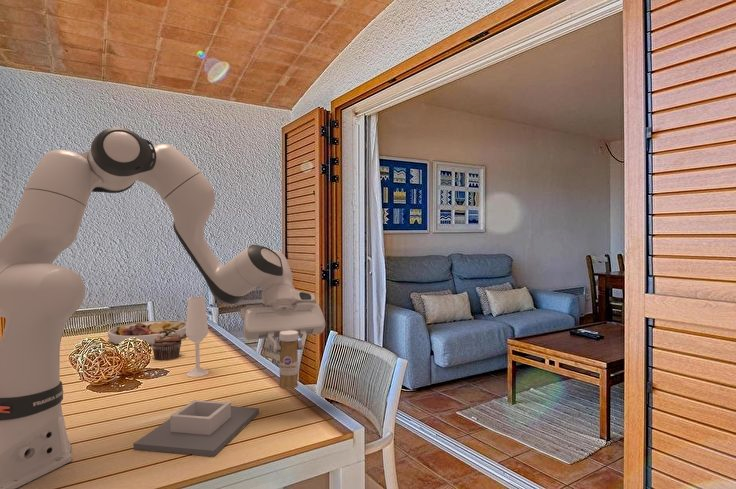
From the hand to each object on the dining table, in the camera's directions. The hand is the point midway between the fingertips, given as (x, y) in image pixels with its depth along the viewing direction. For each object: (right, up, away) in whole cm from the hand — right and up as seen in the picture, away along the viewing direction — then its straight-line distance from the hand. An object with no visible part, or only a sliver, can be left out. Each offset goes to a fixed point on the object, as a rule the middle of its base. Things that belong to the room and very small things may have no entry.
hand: (289, 349), depth 110 cm
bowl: (-72, -14, +81) cm, 109 cm away
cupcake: (-53, -15, +53) cm, 76 cm away
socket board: (-19, -17, -6) cm, 26 cm away
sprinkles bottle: (0, -9, +1) cm, 9 cm away
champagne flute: (-35, -16, +34) cm, 51 cm away
